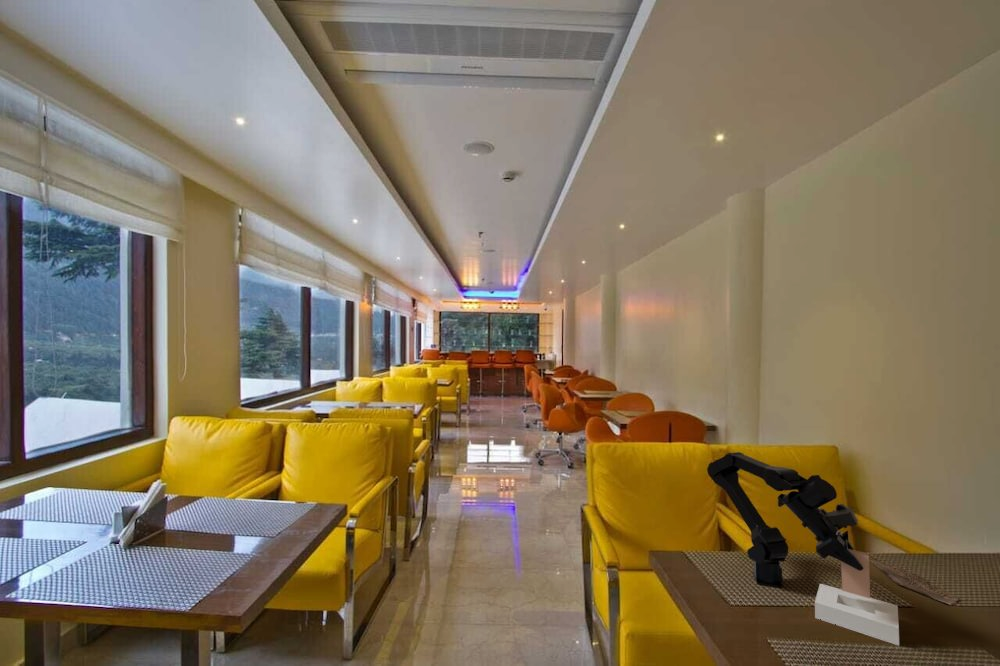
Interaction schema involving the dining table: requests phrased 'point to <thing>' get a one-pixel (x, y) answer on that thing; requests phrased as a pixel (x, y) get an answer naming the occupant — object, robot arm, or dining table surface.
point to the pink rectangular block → (856, 576)
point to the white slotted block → (858, 613)
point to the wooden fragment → (916, 583)
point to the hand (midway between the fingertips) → (862, 567)
